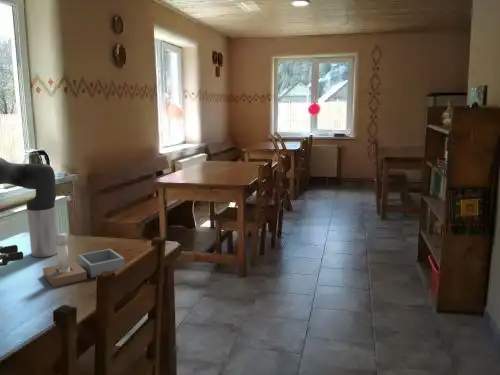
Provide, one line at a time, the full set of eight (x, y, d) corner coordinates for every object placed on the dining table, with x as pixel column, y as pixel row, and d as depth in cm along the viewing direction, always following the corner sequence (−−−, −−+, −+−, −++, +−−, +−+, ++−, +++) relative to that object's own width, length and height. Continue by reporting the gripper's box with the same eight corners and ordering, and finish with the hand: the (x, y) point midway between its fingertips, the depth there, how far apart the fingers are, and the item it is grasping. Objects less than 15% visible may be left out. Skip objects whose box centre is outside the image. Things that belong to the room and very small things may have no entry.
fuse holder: (43, 275, 147) (42, 268, 147) (75, 268, 153) (75, 261, 153) (53, 287, 138) (52, 279, 137) (87, 279, 144) (86, 271, 143)
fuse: (58, 277, 146) (53, 234, 143) (69, 274, 148) (65, 232, 145) (60, 280, 143) (56, 236, 141) (72, 277, 145) (68, 234, 143)
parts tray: (79, 266, 155) (78, 255, 154) (111, 259, 162) (110, 248, 161) (91, 277, 145) (90, 265, 144) (125, 269, 151) (124, 258, 151)
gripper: (-44, 255, 121) (24, 244, 130) (-48, 243, 132) (14, 234, 141) (-41, 283, 122) (26, 270, 131) (-45, 268, 133) (16, 257, 143)
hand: (20, 251), depth 136 cm, fingers open, 8 cm apart
